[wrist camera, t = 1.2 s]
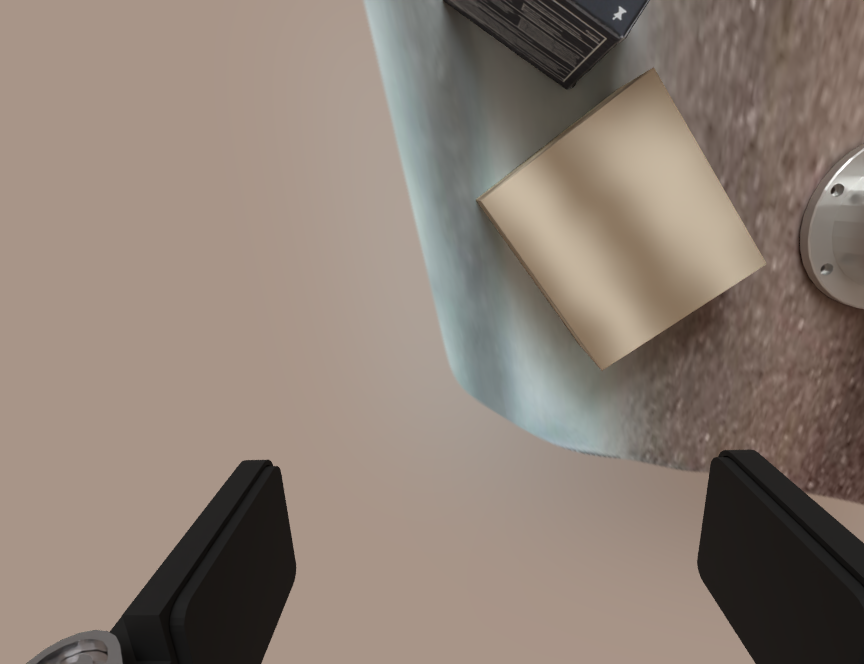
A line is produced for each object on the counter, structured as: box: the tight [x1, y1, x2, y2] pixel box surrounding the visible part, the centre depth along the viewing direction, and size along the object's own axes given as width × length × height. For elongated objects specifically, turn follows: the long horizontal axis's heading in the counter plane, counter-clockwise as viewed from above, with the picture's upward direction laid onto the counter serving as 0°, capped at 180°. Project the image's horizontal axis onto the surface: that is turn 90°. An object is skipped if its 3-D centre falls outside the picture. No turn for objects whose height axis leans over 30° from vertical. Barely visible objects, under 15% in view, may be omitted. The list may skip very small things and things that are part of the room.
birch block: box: [476, 68, 766, 370], centre depth 32 cm, size 12×14×6 cm
